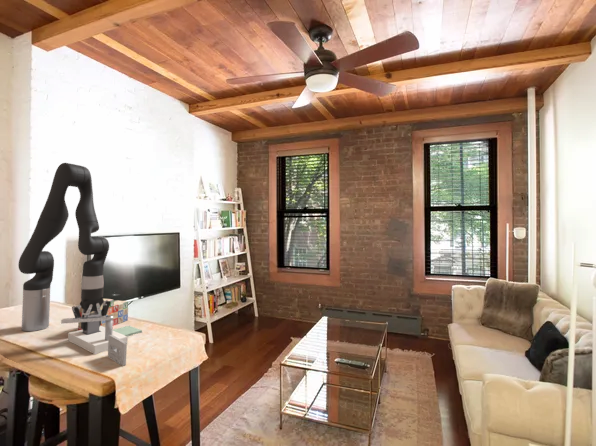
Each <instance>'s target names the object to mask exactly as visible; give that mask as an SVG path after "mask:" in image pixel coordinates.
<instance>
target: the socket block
mask: <svg viewBox="0 0 596 446" xmlns="http://www.w3.org/2000/svg"><path fill="white" fill-rule="evenodd" d="M113 327H114V326H113V320H110V321H106V323H105V327H103V326H100V327H99V332H97V333H93V334H89V335H86V334H83V330H79V331H78V330H76V331H70V332H67V335H68V336H67V341H68V342H70V343H72V344H74V345H76V346H78V347H79V348H82V349H84V350H86V351H88V352H90V353H92V354H94V355H95V354H100V353H103V352H108V340H109V335H113V336H115V337H117V338H119V339H121V340H123V341H124V342H126V343H127V344H128V338H129V336H125V335H123V334H120V333H118V332H115V331H113V330H114V329H113Z"/></svg>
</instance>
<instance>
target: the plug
mask: <svg viewBox="0 0 596 446" xmlns="http://www.w3.org/2000/svg"><path fill="white" fill-rule="evenodd" d="M98 316H100V314H97V313H95V312H94V313H90V314H89V316H87V317H98ZM99 322H100V321H93V322H87V330H86V331H84V330H83V334H86V335H89V334H93V333H97V332H99Z"/></svg>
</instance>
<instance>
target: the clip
mask: <svg viewBox="0 0 596 446" xmlns="http://www.w3.org/2000/svg"><path fill="white" fill-rule="evenodd" d="M110 320H113V316H112V315H110V316H98V317H82V318H75V317H68V318H62V319H61V320H60V321H61V322H60V324H63V325H64V324H73V323H74V324H75V323H76V324H77V323H78V322H93V321H110Z"/></svg>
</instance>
